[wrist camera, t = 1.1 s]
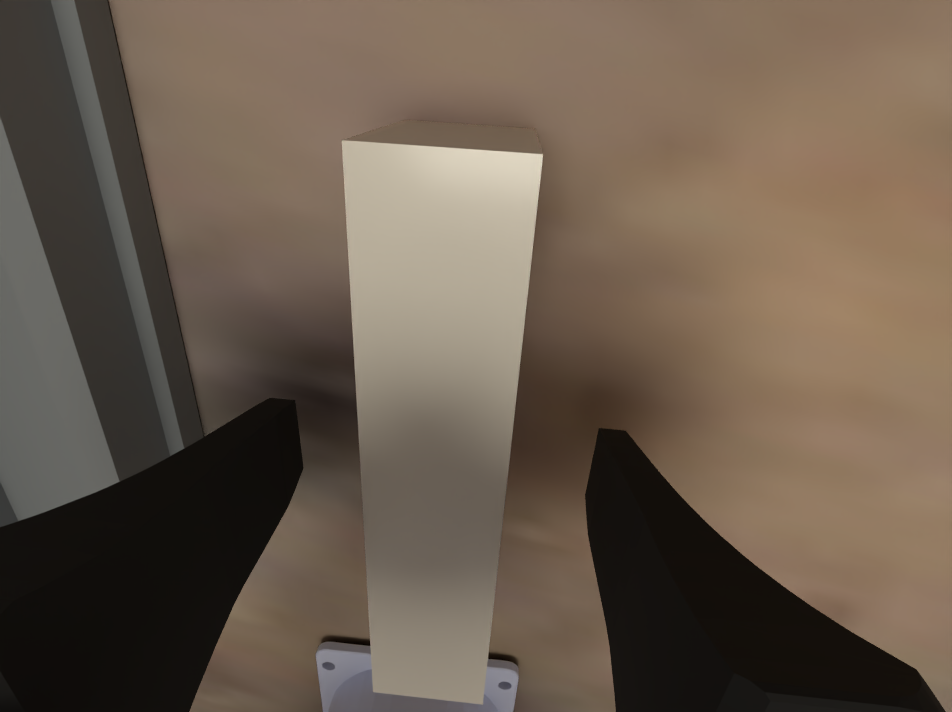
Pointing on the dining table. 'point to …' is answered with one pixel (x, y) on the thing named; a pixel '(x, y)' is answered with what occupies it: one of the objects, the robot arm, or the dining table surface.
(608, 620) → the robot arm
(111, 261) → the grooved grey tray
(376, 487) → the clay bar
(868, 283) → the dining table surface
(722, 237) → the dining table surface
